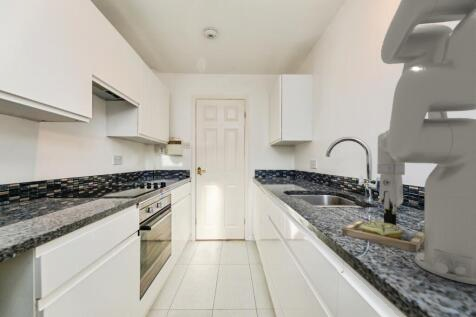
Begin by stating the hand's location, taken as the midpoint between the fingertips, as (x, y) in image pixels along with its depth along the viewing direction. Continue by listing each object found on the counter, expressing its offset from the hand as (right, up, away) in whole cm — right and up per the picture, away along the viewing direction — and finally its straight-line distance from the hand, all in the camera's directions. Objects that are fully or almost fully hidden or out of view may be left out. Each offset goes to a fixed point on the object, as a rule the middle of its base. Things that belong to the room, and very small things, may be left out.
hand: (389, 225), depth 74 cm
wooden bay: (-6, -2, -6) cm, 8 cm away
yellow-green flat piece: (-7, -2, -5) cm, 9 cm away
